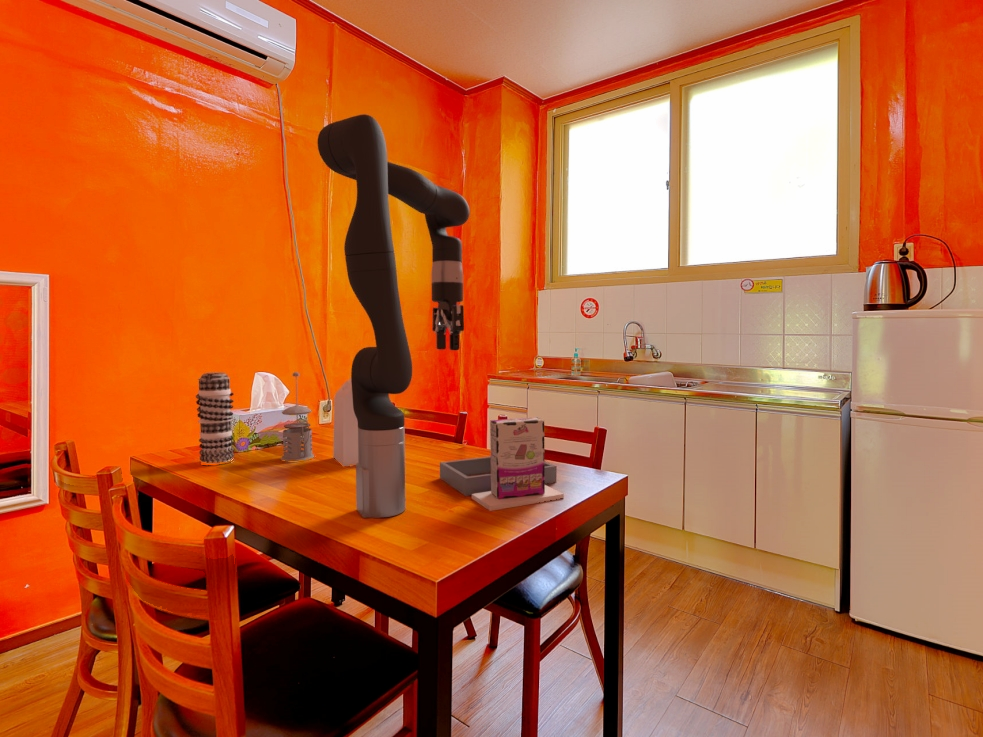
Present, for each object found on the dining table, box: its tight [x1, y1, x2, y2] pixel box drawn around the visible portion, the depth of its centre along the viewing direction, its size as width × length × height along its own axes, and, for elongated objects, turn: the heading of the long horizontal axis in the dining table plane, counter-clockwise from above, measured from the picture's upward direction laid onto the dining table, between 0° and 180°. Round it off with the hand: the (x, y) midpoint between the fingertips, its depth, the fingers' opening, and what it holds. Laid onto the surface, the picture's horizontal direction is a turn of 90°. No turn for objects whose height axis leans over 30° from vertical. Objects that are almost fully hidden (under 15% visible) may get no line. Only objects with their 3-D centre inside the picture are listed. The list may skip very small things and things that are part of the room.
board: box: [471, 484, 565, 512], centre depth 113 cm, size 18×9×1 cm, turn 117°
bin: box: [439, 455, 558, 497], centre depth 127 cm, size 24×16×4 cm, turn 117°
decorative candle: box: [195, 372, 235, 463], centre depth 144 cm, size 9×9×25 cm
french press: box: [280, 371, 315, 461], centre depth 148 cm, size 10×12×25 cm
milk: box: [332, 377, 358, 467], centre depth 146 cm, size 12×12×26 cm
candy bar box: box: [489, 417, 546, 499], centre depth 112 cm, size 11×5×16 cm, turn 109°
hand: (447, 349), depth 124 cm, fingers open, 8 cm apart
